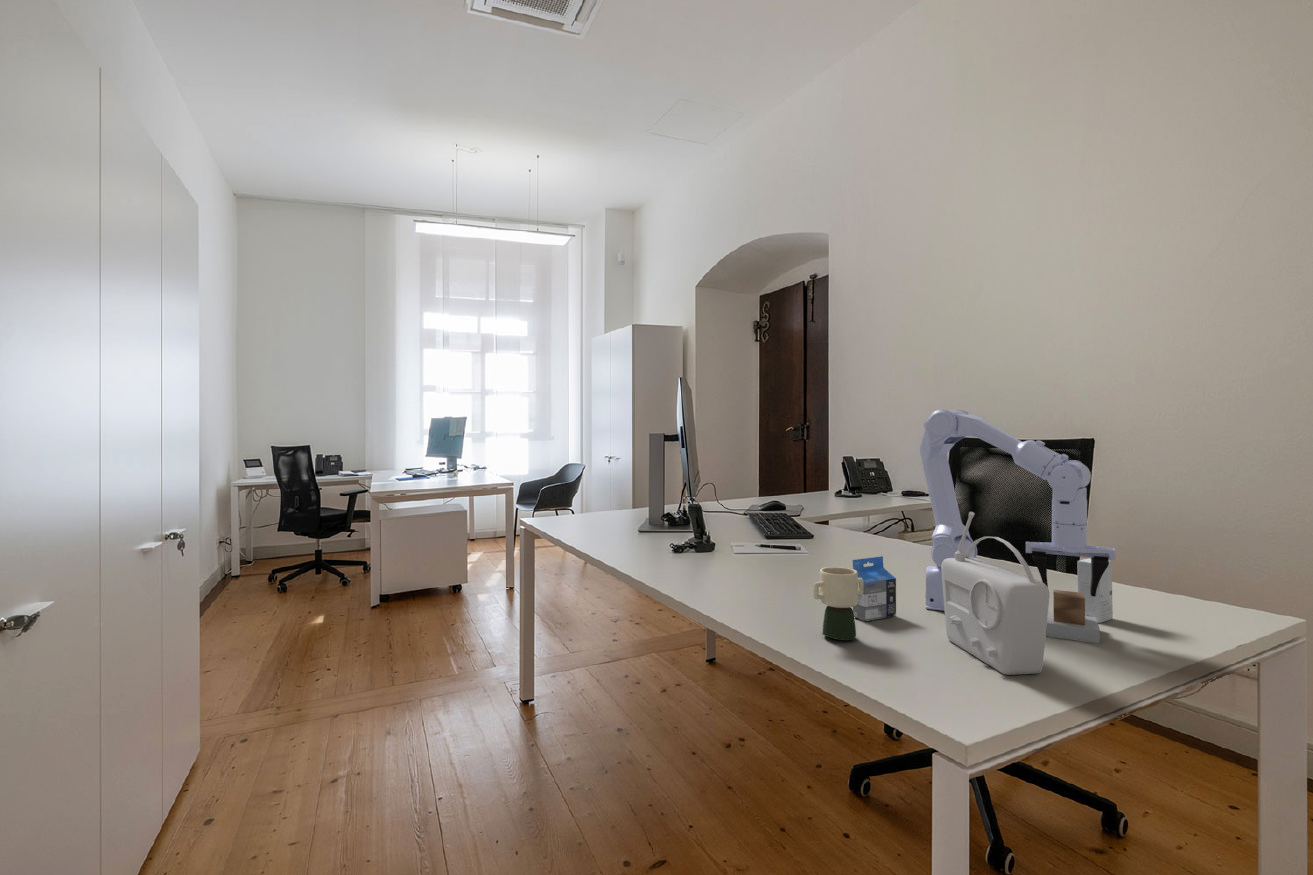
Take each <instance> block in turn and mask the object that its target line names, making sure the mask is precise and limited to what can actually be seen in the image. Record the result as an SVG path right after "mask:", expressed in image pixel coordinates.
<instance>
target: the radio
mask: <svg viewBox="0 0 1313 875" xmlns="http://www.w3.org/2000/svg"><path fill="white" fill-rule="evenodd" d="M975 515H976V514H975V512H973V511H969V512H968V517H967V521H966V524H965V530H964V533H963V536H962V539H961V542H960V544H959V547H958V551H957V552H955V558H947V559H945V560H943V562H942V566H941V569H942V582H943V595H944V608H945V611H944V617H945V618H944V620H945V630H946V631H945V634H946V636H947V639H948V640H949V641H950V642H951V643H953V644H955V645H956V646H958V647H959V648H962V650H964V651H966V653H967V652H968V653H969V654H970V655H972V656H974V657H976V658H977V659H979V660H980V661H982V662H983V663H985V664H986V665H988V666H990V667H991V668H993V669H995V670H996V671H997V672H1000V673H1001V674H1002V675H1003V674H1004V675H1008V676H1010V675H1012V676H1014V675H1015V676H1016V675H1037V674H1039V673H1041V672H1042V671H1043V666H1044V657H1045V656H1044V655H1045V648H1046V647H1045V645H1046V638H1047V636H1046V627H1047V617H1048V611H1049V605H1050V597H1051V596H1050V594H1051V593H1050V590H1049V586H1048V587H1047V586H1046V585H1045V584H1044V583H1043V582H1042V580H1038V579H1036V578H1034V576H1033V574H1032V570H1031V569H1030V566H1029V564H1028V563H1027V562H1026V560H1025V559H1024V557H1023V556H1022V554H1021V553H1020V551H1019V550H1018V549H1017V548H1015V546H1013V545H1012V544H1011V543H1010V542H1009V541H1007V540H1005V539H1003V538H1000V537H999V536H982V537H980V538H978V539H975V540H973V543H972V544H971V546H970V547H969V548H968V550H967V552H966V553H964V552H963V551H962V550H961V549H962V546H963V543H964V540H965V538H966V535H967V532H968V531H969V528H970V525H971V523H972V520H973V518H974V517H975ZM986 539H995V540H996V541H999V542H1000V543H1003V544H1004V545H1005V546H1006V547H1007V548H1008V549H1010V552H1013V554H1014V556H1015V557H1016V558H1017V560H1018V561H1019V563H1020V565H1021V566H1022V568H1023V570H1024V573H1025V575H1024V574H1022V573H1019V572H1016V571H1013V570H1011V569H1007V568H1004V567H1001V566H999V565H996V564H993V563H990V562H988V561H984V560H982V559H980V558H977V557H976V558H969V556H970V554H971V552H972V550H973V548H974V547H975V546H976V547H977V545H978V544H979V543H980V542H981V541H983V540H986Z"/></svg>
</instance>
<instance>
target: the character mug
mask: <svg viewBox="0 0 1313 875" xmlns="http://www.w3.org/2000/svg"><path fill="white" fill-rule="evenodd" d="M861 594H863V579H862V578H858V573H857V571H856V570H854V569H853V568H849V567H841V566H827V567H826V566H825V567H822V568H820V570H819V581H816V582H814V583H813V598H814V600H820V601H821V603H822V604H823V605H826V608H825V610H824V616H823V623H822V635H823V636H826V637H829V638H831V639H832V638H834V639H833V640H838V641H839V640H840V641H851V640H854V639H855V638H856V637H857V631H856V630H857V628H856V622H855V618H854V614H853V606H856V605H857V604H858V595H861Z"/></svg>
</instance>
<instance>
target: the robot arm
mask: <svg viewBox="0 0 1313 875" xmlns="http://www.w3.org/2000/svg"><path fill="white" fill-rule="evenodd" d="M923 427H924V431H923V435H922V439H921V442H920V446H919V453H920V458H921V463H922V468H923V472H924V476H925V481H926V486H927V491H928V496H929V499H930V500H929V501H930V505H931V510H932V514H933V519H934V523H935V528H934V531H933V533H932V535H931V539H932V540H931V541H932V547H931V549H930V550H931V551H930V553H931V554H930V555H931V559H932V561H933V562H934V564H935V565H936V566H934V565H933V566H931V565H929V566H927V567H926V572H925V596H924V597H925V609H927V610H934V611H935V610H936V611H942V612H945V608H944V595H943V582H942V569H941V566H942V562H943V560H945V559H947V558H955V552H957V551H958V547H959V544H960V542H961V539H962V536H963V533H964V530H965V527H966V525H964V524H963V522H962V517H961V513H960V509H959V505H958V499H957V494H956V491H955V487H954V486H955V485H954V481H953V477H952V472H951V468H950V463H949V458H948V453H949V452H950V450H952V448H953V447H954V446H955V445H956V443H958V442H960V441H961V440H962V439H965V437H971V438H973V437H974V438H977V439H980V440H981V441H984V442H986V443H988V444H990V445H992V446H993V447H996V448H998V449H1000V450H1002V451H1003V452H1005V453H1008V454H1010V455H1011V456H1012V459H1013V462H1014V464H1015V465H1016V466H1019V467H1021V469H1022V468H1023V470H1026V471H1027V472H1030V473H1031V474H1033V475H1035V476H1037V477H1038V478H1040V479H1042V480H1044V481H1047V484H1048V485H1049V487H1051V489H1052V490H1051V491H1052V495H1051V496H1052V498H1051V542H1040V541H1038V542H1037V541H1025V554H1031V557H1032V560H1033V561H1034V563H1035V566H1036V569H1037V570H1038V573H1039V575H1040V578H1041V582H1043V583H1044V584H1045V585H1046V586H1047V587H1048V588H1049V584H1048V575H1047V574H1048V573H1047V572H1048V559H1047V558H1048V555H1057V556H1058V555H1059V556H1070V557H1082V558H1091V586H1090V594H1091V596H1093V597H1096V591H1097V587H1098V584H1099V581H1100V579H1101V577H1102V575H1103V573H1104V572H1105V570H1106V569H1107V567H1108V565H1109V561H1116V560H1117V557H1116V555H1117V551H1116V549H1115V548H1114V547H1113V548H1112V547H1105V546H1104V547H1103V546H1095V545H1088V499H1087V496H1088V495H1087V494H1088V493H1087V490H1088V489H1087V486H1088V485H1089V484H1090V483H1091V479H1092V474H1091V471H1090V469H1089V468H1088V466H1087V465H1085V464H1084V463H1082V461H1080V460H1077V459H1076V460H1075V459H1074V460H1073V459H1072V460H1070V459H1069V455H1067V454H1065V453H1062V454H1060V453H1058V452H1056V451H1054V450H1052V449H1050V448H1048V447H1046V446H1045V445H1046V443H1045V441H1044V442H1043V441H1042V440H1041V439H1040V440H1036V441H1035V440H1033V439H1029V440H1025V441H1022V440H1019V439H1018V438H1016V437H1014V435H1013V436H1012V435H1011V434H1009V433H1007V432H1006V431H1004V430H1002V429H1001V428H999V427H997V426H995V425H994V424H992V423H990V422H989V421H987V420H986V419H984V418H981V417H980V416H978V415H977V414H976V415H975V414H972V413H971V414H970V413H969V412H968V411H965V410H963V409H955V410H953V409H952V410H949V409H944V408H943V409H937V410H935V411H932V412H931V414H930V415H929V416H928V418H927V419H926V420H925V421H924V423H923ZM973 542H974V540H973V539H972V537H971V534H970V532H969V530H968V532H967V535H966V538H965V540H964V543H963V546H962V549H961V550H962V551H963V552H964V553H966V552H967V550H968V548H969V547H970V546H971V544H972V543H973ZM977 556H978V548H977V545H976V546H975V547H974V548H973V550H972V552H971V554H970V556H969V558H976V559H977Z"/></svg>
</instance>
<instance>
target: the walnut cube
mask: <svg viewBox="0 0 1313 875" xmlns="http://www.w3.org/2000/svg"><path fill="white" fill-rule="evenodd" d="M1052 594H1053V595H1052V596H1053V612H1054V621H1055V622H1063V623H1071V624H1078V625H1085V597H1084V593H1080V592H1078V591H1068V590H1058V589H1053V592H1052Z"/></svg>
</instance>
